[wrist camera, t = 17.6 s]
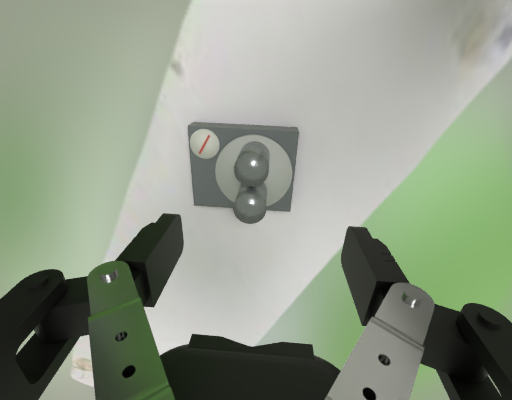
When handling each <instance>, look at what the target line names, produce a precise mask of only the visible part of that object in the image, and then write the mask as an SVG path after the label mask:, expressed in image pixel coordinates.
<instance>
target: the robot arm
mask: <svg viewBox="0 0 512 400" xmlns="http://www.w3.org/2000/svg"><path fill="white" fill-rule="evenodd" d="M183 244H184V241H183V232H182V222H181V216H180V215H179V214H166V213H164V214H162V215H161V217H160V218H159V219H158V221H157V222H156V223H150V224H149V225H147V226H145V227H144V228H142V229H141V231H140V232H139V233H138V234H137V236H136V237H135V238H134V239H133V240H132V242H130V244H129V245H128V246H127V247H126V248H125V250H124V251H123V252H122V253H121V254H120V255H119V257H118V258H117V259H116V260H115V261H110V262H106V263H104V264H101V265H99V266H97V267H96V268H94V269H93V270H92V271H91V272H90V273H89V275H88V276H87V277H80V278H73V279H67V280H65V278H64V275H63V273H62V272H61V271H59V270H55V269H49V270H43V271H39V272H37V273H34V274H32V275H29V276H28V277H26V278H24V279H23V280H22V281H20V282H19V283H18V284H17V285H16V286H15V287H13V288H12V289H11V290H10V291H9V292H8V293H7V294H6V295H5V296H4V297H2V298H1V299H0V400H38V399H39V398H40V396H41V395H42V393H43V392H44V390H45V389H46V387H47V386H48V384H49V383H50V381H51V380H52V378H53V377H54V375H55V374H56V372H57V371H58V369H59V367H60V366H61V365H62V363H63V361H64V360H65V358H66V357H67V356H68V354H69V353H70V351H71V350H72V348H73V347H74V345H75V344H76V342H77V341H78V339H79V338H80V336H84V335H89V337H90V348H91V358H92V368H93V378H94V389H95V399H96V400H409V398H410V395H411V392H412V388H413V385H414V381H415V378H416V375H417V372H418V368H419V365H420V363H421V364H423V365H426V366H429V367H431V368H434V369H436V371H437V373H438V375H439V377H440V379H441V381H442V383H443V385H444V388H445V390H446V392H447V394H448V396H449V398H450V400H512V323H511V322H510V321H509V320H508V319H507V318H506V317H505V316H503V315H502V314H500V313H499V312H497V311H495V310H493V309H492V308H489V307H487V306H484V305H481V304H476V303H468V304H465V305H464V306H463V308H462V310H461V311H460V312H459V311H455V310H452V309H449V308H446V307H443V306H439V305H437V304H434V301H433V299H432V298H431V297H430V296H429V295H428V294H427V293H426V292H425V291H423V290H422V289H421V288H419V287H417V286H415V285H412V284H410V283H409V281H408V280H407V278H406V277H405V275H404V274H403V272H402V270H401V269H400V267H399V266H398V264H397V262H395V259H394V257H393V256H392V255H391V253H390V251H389V250H388V248H387V246H386V245H384V244H383V243H382V242H381V241H379V240H378V239H373V238H372V237H371V235H370V233H369V232H368V230H367V228H365V227H352V226H349V227H348V229H347V232H346V236H345V240H344V245H343V249H342V254H341V263H342V267H343V271H344V274H345V276H346V279H347V282H348V285H349V288H350V291H351V294H352V297H353V300H354V303H355V306H356V309H357V312H358V315H359V318H360V321H361V324H362V326H366V328H365V329H364V331H363V333H362V335H361V337H360V338H359V340H358V342H357V343H356V345H355V347H354V349H353V350H352V352H351V354H350V356H349V358H348V359H347V361H346V363H345V365H344V367H343V368H342V370H341V371H340V370H339V369H338V368H336V367H335V366H334V365H332V364H331V363H329V362H327V361H326V360H324V359H322V358H320V357H317V356H315V355H314V354H313V347H312V345H311V344H299V343H288V342H279V343H273V344H267V345H261V346H255V347H250V346H246V345H244V344H241V343H238V342H235V341H232V340H229V339H227V338H224V337H220V336H209V335H198V334H192V336H191V339H190V342H189V344H187V345H182V346H179V347H176V348H173V349H171V350H169V351H167V352H165V353H163V354H162V355H160V356H159V353H158V350H157V346H156V343H155V340H154V337H153V334H152V331H151V328H150V325H149V322H148V319H147V316H146V313H145V310H144V307H154V306H155V304H156V302H157V300H158V298H159V296H160V295H161V293H162V291H163V289H164V287H165V285H166V283H167V281H168V279H169V277H170V275H171V273H172V271H173V269H174V267H175V265H176V263H177V261H178V259H179V258H180V256H181V254H182V251H183ZM33 330H34V331H35V334H34V335H33V336H32V337H31V338H30V340H29V341H28V342H27V343H26V344H25V345H24V347H23V348H22V349H21V350H20V351H19V353H18V354H17V355H16V353H17V350H18V348H19V346H20V345H21V344H22V342H23V341H24V340H25V339H26V338H27V337H28V335H29V334H30V333H31V332H32V331H33ZM488 375H489V376H490V377H491V379H492V380H493V382H494V383H495V385H496V386H497V388H498V390H499V392H500V394H501V396H500V394H499V393H498V391H497V389H496V388H495V386H494V385H493V383H492V382H491V380H490V378H489V377H488Z"/></svg>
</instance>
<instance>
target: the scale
mask: <svg viewBox="0 0 512 400" xmlns="http://www.w3.org/2000/svg"><path fill="white" fill-rule="evenodd" d="M188 136H189V148H190V161H191V173H192V186H193V198H194V205H197V206H213V207H228V208H233V207H234V203H235V200H236V196H237V193H238V190H239V187H240V185H241V183H240V182H239V181H238V180H237V179H236V177H235V174H234V165H235V162H236V160H237V158H238V155H239V153H240V151H241V149H242V147H243V146H244V145H245V144H246V143H248V142H251V141H257V142H261V143H263V144H264V145H265V146H266V147H267V148H268V150H269V153H270V161H269V173H268V177H267V179H266V180H265V181H264V184H265V185H266V187H267V202H266V210H273V211H289V212H290V209H291V199H292V190H293V181H294V172H295V163H296V154H297V145H298V136H299V130H298V128H297V127H280V126H261V125H241V124H222V123H202V122H193V123H191V124H190V125H188Z"/></svg>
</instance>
